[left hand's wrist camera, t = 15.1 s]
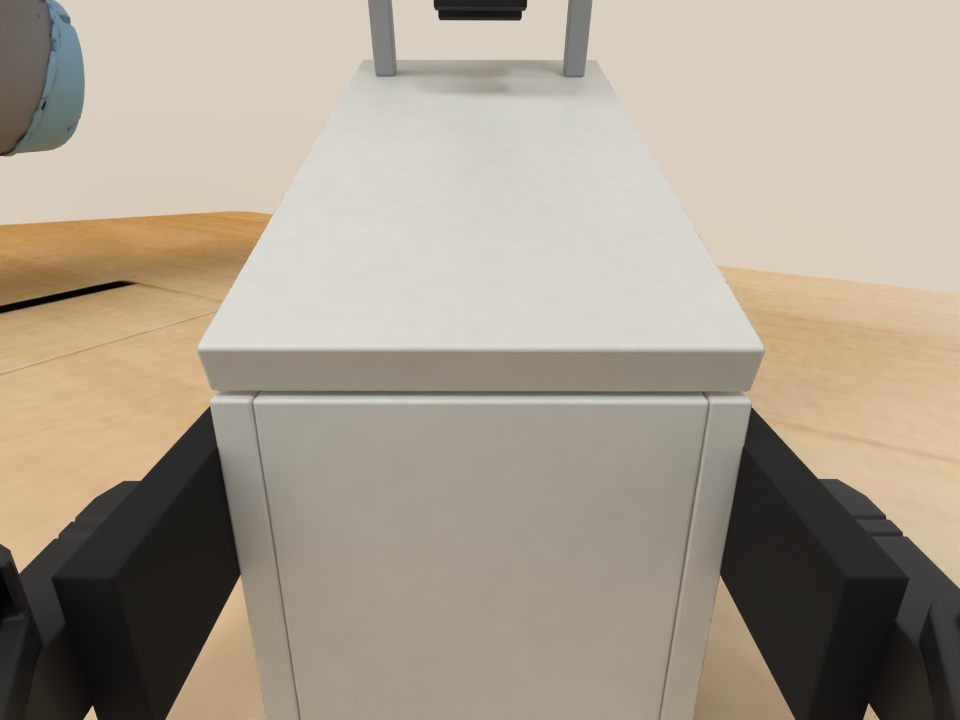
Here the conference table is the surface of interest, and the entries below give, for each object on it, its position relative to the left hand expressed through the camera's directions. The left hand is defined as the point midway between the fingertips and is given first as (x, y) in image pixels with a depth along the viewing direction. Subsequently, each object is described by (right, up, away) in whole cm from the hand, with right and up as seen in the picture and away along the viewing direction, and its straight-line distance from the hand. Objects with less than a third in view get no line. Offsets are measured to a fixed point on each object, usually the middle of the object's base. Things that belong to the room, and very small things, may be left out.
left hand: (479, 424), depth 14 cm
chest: (0, -5, +7) cm, 9 cm away
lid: (0, +7, +3) cm, 7 cm away
